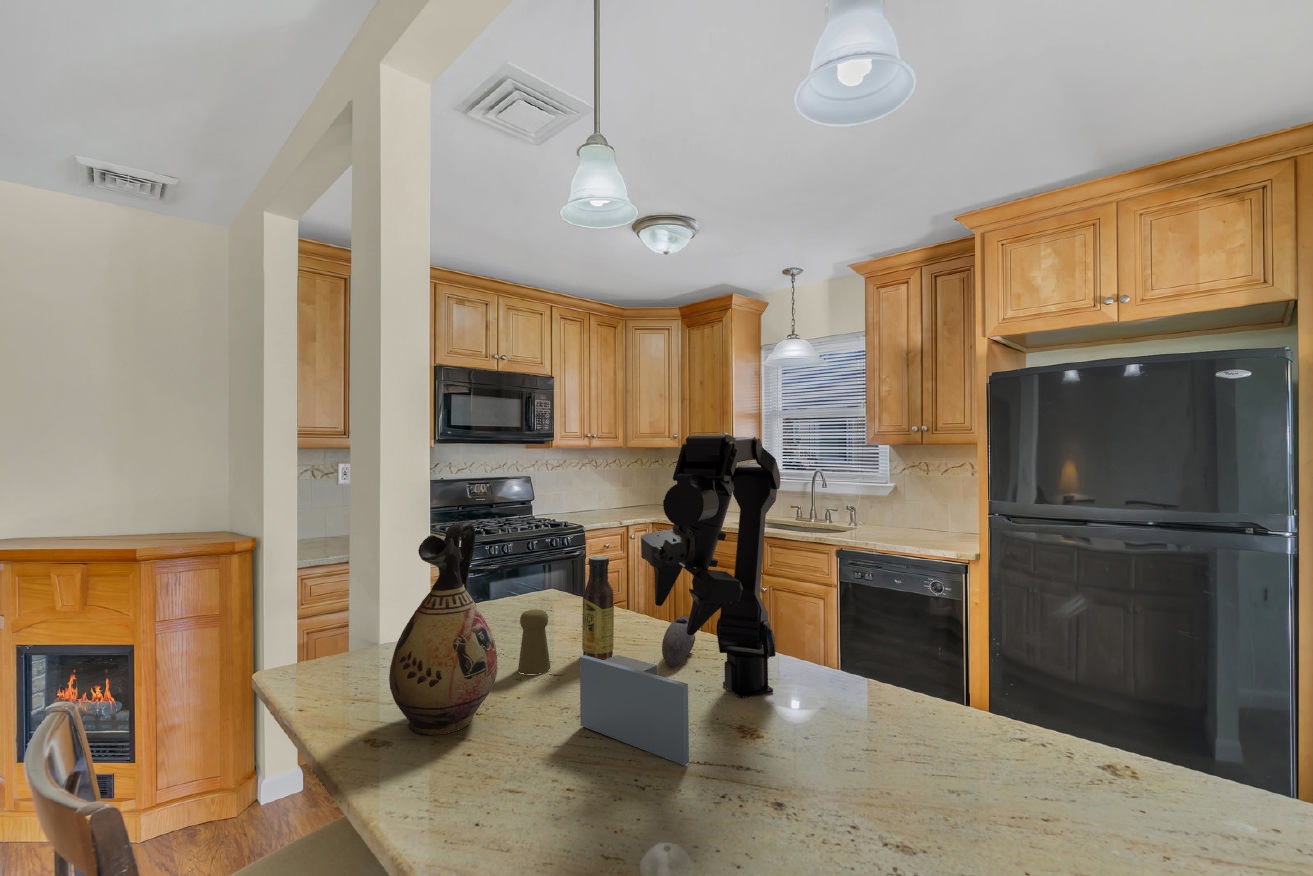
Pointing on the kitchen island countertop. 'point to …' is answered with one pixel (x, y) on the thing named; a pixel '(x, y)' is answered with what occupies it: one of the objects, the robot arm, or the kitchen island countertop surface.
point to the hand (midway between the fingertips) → (673, 619)
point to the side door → (635, 708)
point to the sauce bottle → (598, 611)
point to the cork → (534, 643)
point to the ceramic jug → (444, 644)
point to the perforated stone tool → (677, 642)
